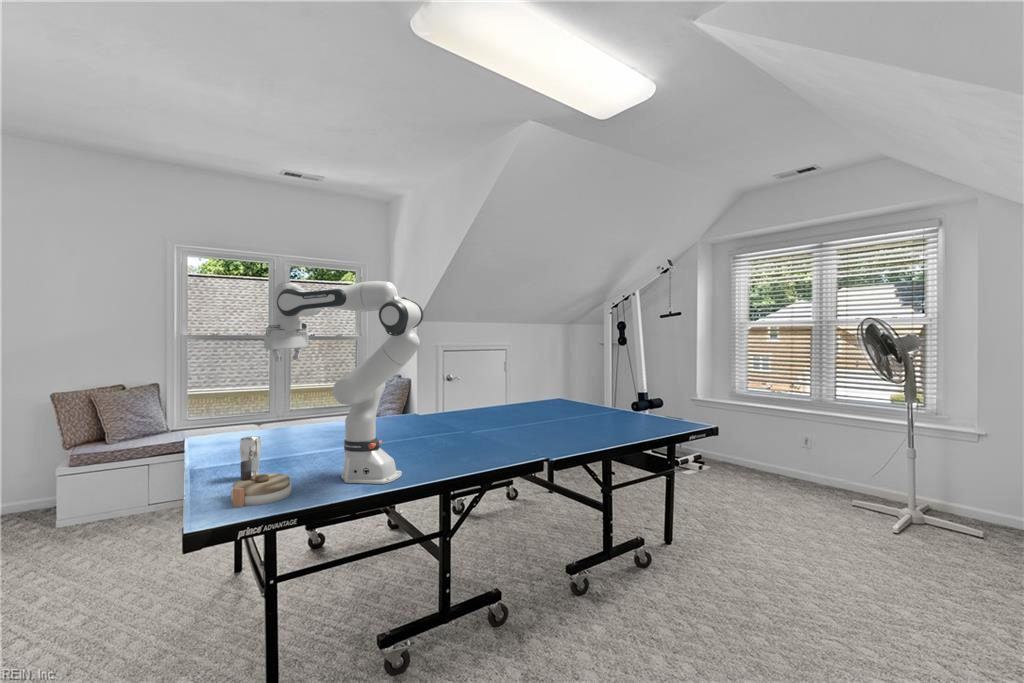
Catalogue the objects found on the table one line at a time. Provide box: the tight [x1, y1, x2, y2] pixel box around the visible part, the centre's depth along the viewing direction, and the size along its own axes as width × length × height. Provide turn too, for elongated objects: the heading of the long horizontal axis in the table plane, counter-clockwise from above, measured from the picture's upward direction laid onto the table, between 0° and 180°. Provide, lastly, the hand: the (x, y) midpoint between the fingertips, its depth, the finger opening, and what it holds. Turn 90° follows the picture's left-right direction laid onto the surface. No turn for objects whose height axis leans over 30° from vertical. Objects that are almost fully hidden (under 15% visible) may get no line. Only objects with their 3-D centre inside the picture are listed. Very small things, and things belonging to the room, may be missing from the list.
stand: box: [230, 481, 292, 508], centre depth 166 cm, size 18×20×6 cm
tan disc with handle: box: [232, 460, 291, 496], centre depth 167 cm, size 17×17×8 cm
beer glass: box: [239, 435, 262, 476], centre depth 186 cm, size 7×7×15 cm
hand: (287, 360), depth 193 cm, fingers open, 8 cm apart
